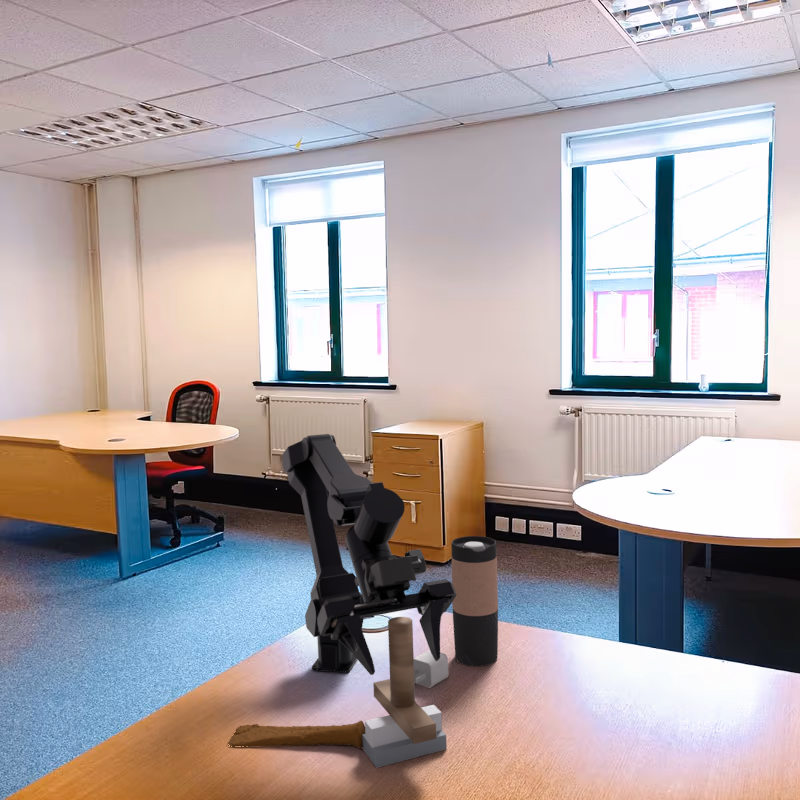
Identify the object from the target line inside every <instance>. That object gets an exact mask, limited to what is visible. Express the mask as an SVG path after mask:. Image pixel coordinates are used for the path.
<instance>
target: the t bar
mask: <svg viewBox="0 0 800 800" xmlns="http://www.w3.org/2000/svg"><path fill="white" fill-rule="evenodd" d="M387 629H388V630H387V631H388V635H387V636H388V653H389V654H388V656H389V657H388V659H389V660H388V661H389V665H388V666H389V679H384V680H379V681H374V682H373V683H372V684H373V697H374V698H375V700H376V701H377V702H378V703H379V705H381V706H382V708H383V709H384V710H385V711H386V713H388V715H390V716H391V717H392V718H393V720H394V721H395V722H396V723H397V724H398V725H399V727H400V728H401V729H402V730H403V731H404V733H405V734H406V735H407V736H408V737H409V738H410V740H411V741H412V742H413V743H414V744H417V743H421V742H425V741H429V740H433V739H436V723H435V722H434V721H433V720H432V719H431V718H430V717H429V716H428V715H427V713H426V712H425V711H424V710H423V709H422V707H421V706H420V705H419V704H418V703H417V701H416V697H415V696H416V694H415V693H416V692H415V691H416V690H415V683H414V658H415V657H414V634H413V633H414V629H413V620H412V618H410V617H406V616H396V617H395V616H394V617H391V618H390V619H388V621H387Z"/></svg>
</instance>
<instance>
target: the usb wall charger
mask: <svg viewBox="0 0 800 800" xmlns="http://www.w3.org/2000/svg"><path fill="white" fill-rule="evenodd" d="M448 677H449V658H448V655H447V654H446V653H443V652H441V651H440V659H439V660H438V661H435V659H434V657H433V656H432V654H431V651H430V649H428V650H426V651H425V652H423V653H421V654H420V655H417V656H415V657H414V684H417V685H419V684H420V686H422V685H423V687H425V686H426V688H428V687H429V688H430V689H431V688H432V687H434V686H435V685H437V684H439V683H440V682H442V681H444V680H445V679H446V678H448ZM429 688H428V689H429Z"/></svg>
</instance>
